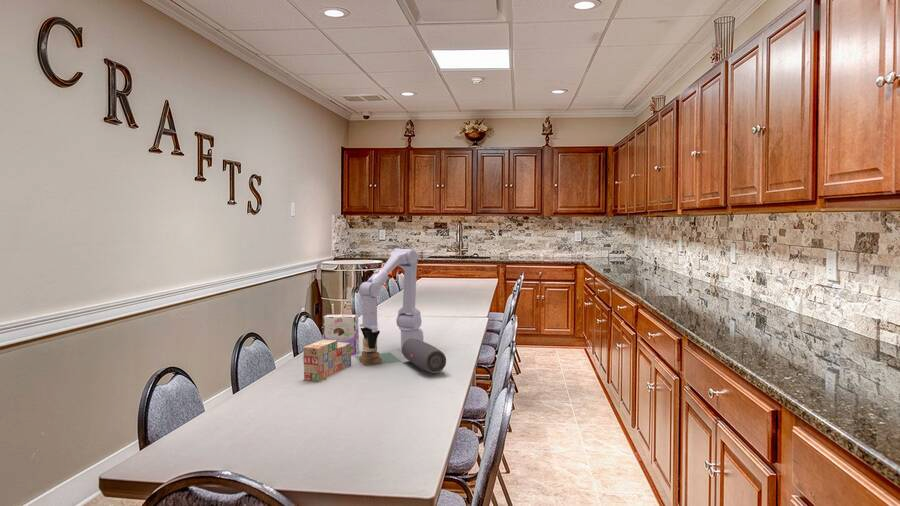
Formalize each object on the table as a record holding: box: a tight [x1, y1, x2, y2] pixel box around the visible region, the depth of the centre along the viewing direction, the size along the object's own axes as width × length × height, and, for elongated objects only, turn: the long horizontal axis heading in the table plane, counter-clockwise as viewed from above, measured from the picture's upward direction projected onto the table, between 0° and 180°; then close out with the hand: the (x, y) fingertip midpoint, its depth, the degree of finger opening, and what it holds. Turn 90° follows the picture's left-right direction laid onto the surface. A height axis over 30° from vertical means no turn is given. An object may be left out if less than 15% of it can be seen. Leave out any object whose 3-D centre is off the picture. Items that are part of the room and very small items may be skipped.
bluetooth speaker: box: [401, 338, 447, 374], centre depth 207 cm, size 23×9×10 cm, turn 27°
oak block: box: [362, 337, 378, 352], centre depth 215 cm, size 4×4×4 cm
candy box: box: [322, 314, 360, 356], centre depth 231 cm, size 14×6×16 cm, turn 84°
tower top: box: [361, 350, 379, 360], centre depth 215 cm, size 6×6×2 cm
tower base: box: [359, 355, 382, 366], centre depth 216 cm, size 7×7×2 cm
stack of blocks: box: [302, 338, 352, 383], centre depth 202 cm, size 21×6×12 cm, turn 158°
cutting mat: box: [354, 352, 402, 367], centre depth 221 cm, size 15×16×1 cm
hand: (370, 346), depth 215 cm, fingers closed on oak block, 4 cm apart
